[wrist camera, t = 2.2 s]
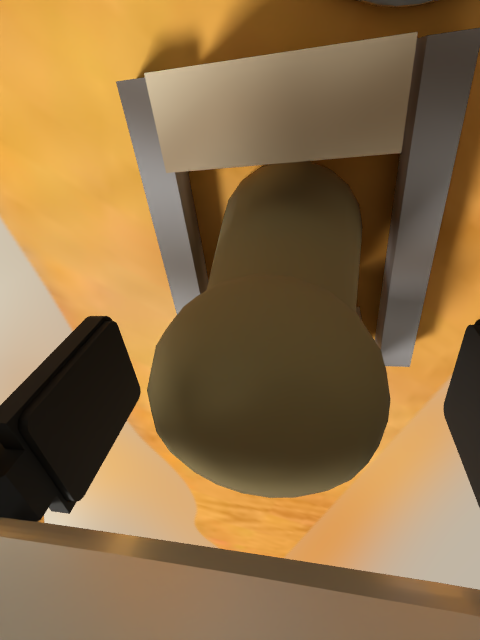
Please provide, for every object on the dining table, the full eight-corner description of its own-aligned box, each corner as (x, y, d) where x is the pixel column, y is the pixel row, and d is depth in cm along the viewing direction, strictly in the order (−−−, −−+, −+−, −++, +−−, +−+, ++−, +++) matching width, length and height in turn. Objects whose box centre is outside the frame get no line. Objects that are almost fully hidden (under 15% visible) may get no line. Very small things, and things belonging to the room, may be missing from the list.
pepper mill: (394, 207, 14) (529, 446, 5) (310, 312, 17) (305, 560, 9) (261, 128, 13) (152, 252, 4) (202, 255, 17) (76, 464, 8)
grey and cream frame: (134, 80, 13) (64, 85, 9) (464, 31, 11) (541, 13, 7) (196, 342, 20) (170, 402, 16) (403, 346, 18) (425, 417, 14)
